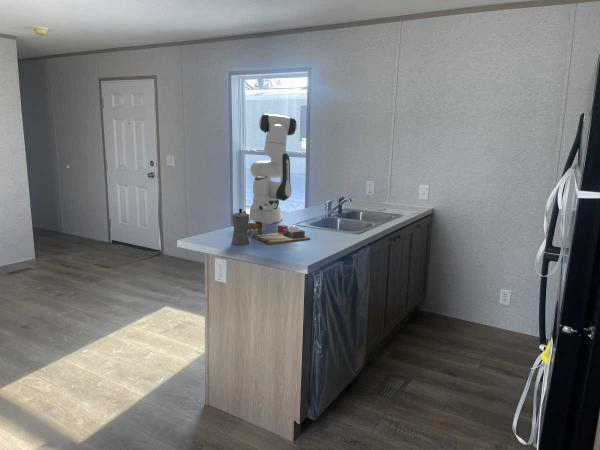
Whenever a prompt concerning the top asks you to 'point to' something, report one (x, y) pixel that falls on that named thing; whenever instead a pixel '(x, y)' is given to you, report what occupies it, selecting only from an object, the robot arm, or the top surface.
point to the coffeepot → (240, 228)
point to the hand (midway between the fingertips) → (260, 229)
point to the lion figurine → (255, 227)
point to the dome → (293, 228)
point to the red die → (282, 228)
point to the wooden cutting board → (281, 237)
